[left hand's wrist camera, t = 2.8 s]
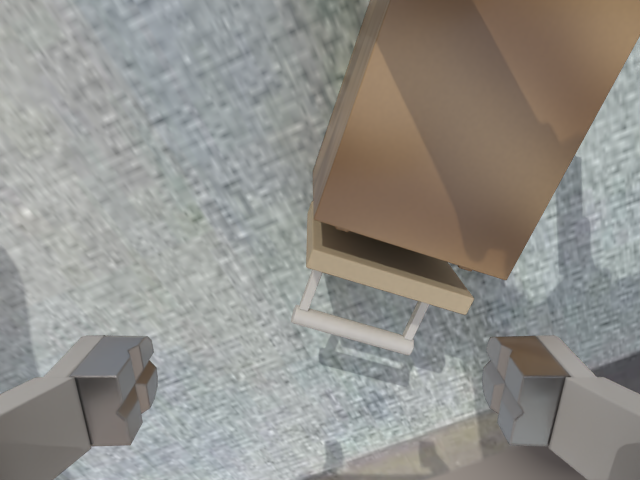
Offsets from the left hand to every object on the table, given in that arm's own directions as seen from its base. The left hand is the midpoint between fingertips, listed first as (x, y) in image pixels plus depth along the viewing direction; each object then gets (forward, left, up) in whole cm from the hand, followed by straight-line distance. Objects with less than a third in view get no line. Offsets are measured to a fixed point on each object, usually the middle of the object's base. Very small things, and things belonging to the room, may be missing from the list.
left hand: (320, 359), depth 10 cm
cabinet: (+9, +7, -24) cm, 27 cm away
